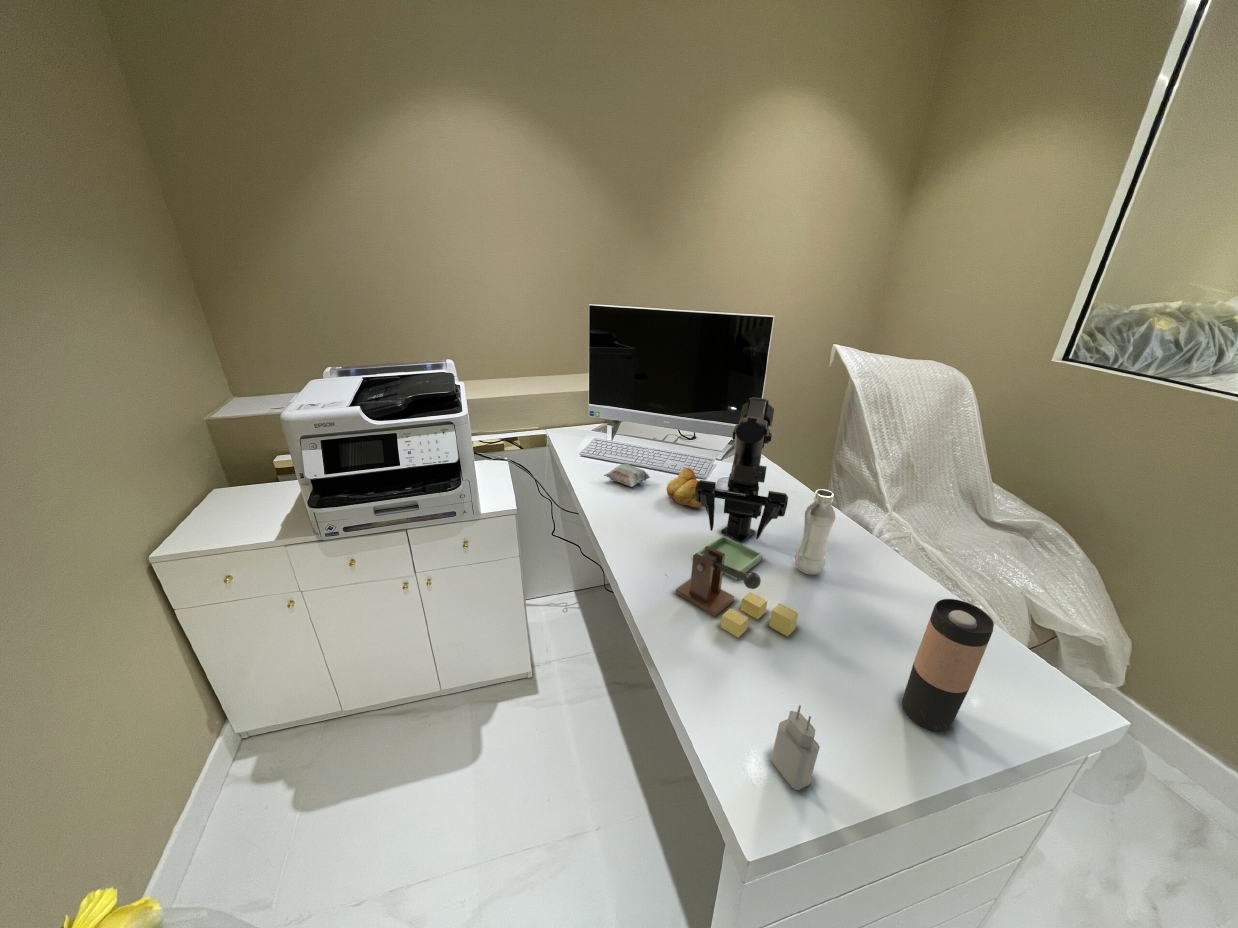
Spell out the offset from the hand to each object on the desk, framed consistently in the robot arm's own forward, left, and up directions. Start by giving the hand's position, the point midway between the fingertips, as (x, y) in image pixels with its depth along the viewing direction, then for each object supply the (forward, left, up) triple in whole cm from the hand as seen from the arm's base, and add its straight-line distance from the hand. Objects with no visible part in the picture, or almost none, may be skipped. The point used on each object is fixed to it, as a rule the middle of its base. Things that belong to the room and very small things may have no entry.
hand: (734, 534), depth 102 cm
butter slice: (+1, +14, -15) cm, 20 cm away
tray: (-11, -6, -15) cm, 19 cm away
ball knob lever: (+5, +3, -7) cm, 9 cm away
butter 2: (+1, +7, -15) cm, 16 cm away
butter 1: (+8, +7, -15) cm, 18 cm away
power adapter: (+27, +29, -15) cm, 42 cm away
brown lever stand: (+5, -2, -15) cm, 16 cm away
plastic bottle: (-21, +9, -15) cm, 27 cm away
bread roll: (-27, -31, -15) cm, 44 cm away
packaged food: (-23, -51, -15) cm, 58 cm away
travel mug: (+2, +40, -15) cm, 42 cm away
